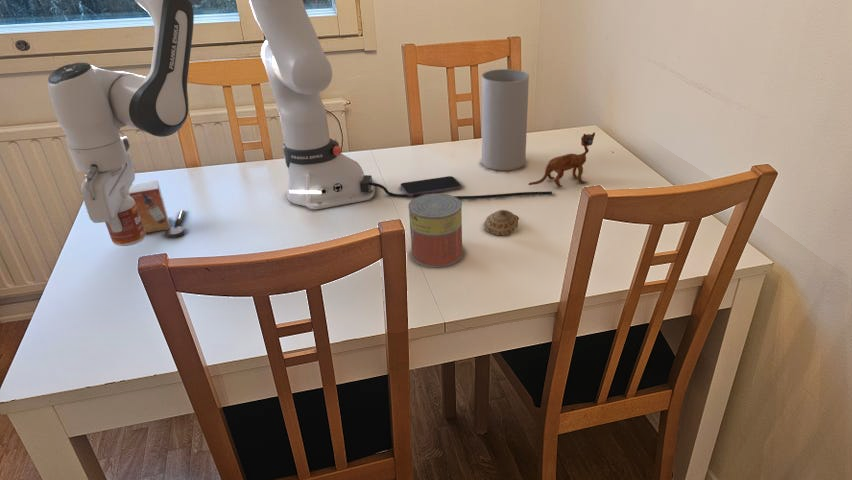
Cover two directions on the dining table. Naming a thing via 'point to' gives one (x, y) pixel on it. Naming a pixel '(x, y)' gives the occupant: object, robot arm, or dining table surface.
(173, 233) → the long handled flat disc
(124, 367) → the dining table surface
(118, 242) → the pill bottle
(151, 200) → the small box
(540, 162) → the dining table surface
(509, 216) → the seashell
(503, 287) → the dining table surface
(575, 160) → the cat figurine
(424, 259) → the canned food
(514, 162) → the cylinder vase
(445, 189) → the smartphone
